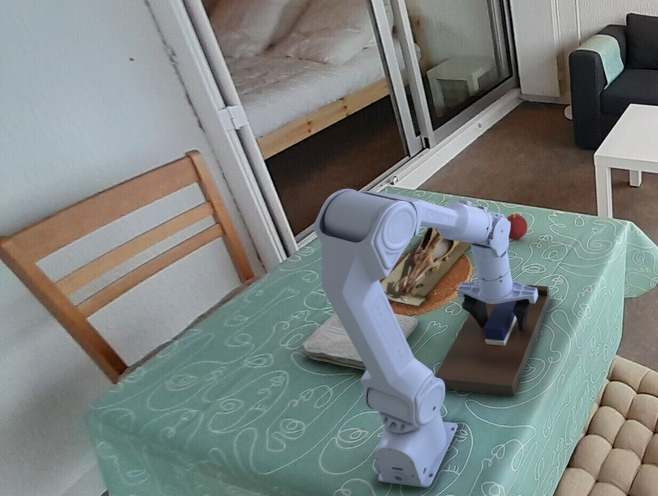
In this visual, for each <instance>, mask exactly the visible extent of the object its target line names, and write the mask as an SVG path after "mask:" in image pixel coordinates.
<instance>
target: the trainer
mask: <svg viewBox="0 0 658 496" xmlns="http://www.w3.org/2000/svg"><path fill="white" fill-rule="evenodd" d="M515 304H516V302H504V303H500V305H499V307H498V306H495V307H494V309H493V311H492V313H491V314H490V316H489V318H488V320H487V322H486V324H485V326H484V331H485V335H486V340H485V341H486V344H492V345H502V346H505V344H506V342H507V340H508V337H509V335H510V333H511V331H512V328H513V326H514V324H515V322H516V319H517V318H516V316H515V314H514V313H513V308H514V306H515Z"/></svg>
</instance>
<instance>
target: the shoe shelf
mask: <svg viewBox="0 0 658 496" xmlns="http://www.w3.org/2000/svg"><path fill="white" fill-rule="evenodd" d="M525 285H526V286H529V287H533V288H537V292H538V297H537V300H536V302H535V304H534V303H530V306H529V309H528V314H527V322H526V326H525V329H524V331H523V332H522V331H519V329H518V322H517V319H516V322H515V324H514V326H513V328H512V331H511V333H510V335H509V337H508V340H507V342H506V344H505V346H502V345H492V344H486V341H485V340H486V335H485V331H484V328H481V327H480V326H479V324H478V323H477V321H476V320H475V318H474V317H473V316H472V315H471V314H470V313H469V314H468V316H467V318H466V320H465V321H464V323H463V324H462V326H461V328H460V329H459V332H458V333H457V335H456V337H455V339H454V341H453V342H452V344H451V346H450V348H449V349H448V351H447V353H446V355H445V357H444V358H443V361H442V362H441V363H440V365H439V367H438V369H437V371H436V373H435V374H434V376H435V377H436V378H439V379H442V380H443V382H444V384H445V390H451V391H452V390H453V391H461V392H462V391H463V392H471V393H481V394H489V395H490V394H492V395H501V396H510V397H514V396H515V394H516V392H517V390H518V387H519V384H520V381H521V379H522V376H523V374H524V371H525V369H526V366H527V364H528V361H529V358H530V355H531V353H532V350H533V347H534V345H535V342H536V340H537V337H538V335H539V332H540V329H541V327H542V324H543V322H544V319H545V316H546V314H547V311H548V308H549V306H550V304H551V294H550V287H549V286H546V285H545V286H544V285H535V284H525ZM510 302H517V300H516V301H510ZM499 305H500V303H499V304H488V303H486V309H487V314H488V318H489V316H490V314H491V313H492V311H493V309H494V307H495V306H498V307H499Z"/></svg>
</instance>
